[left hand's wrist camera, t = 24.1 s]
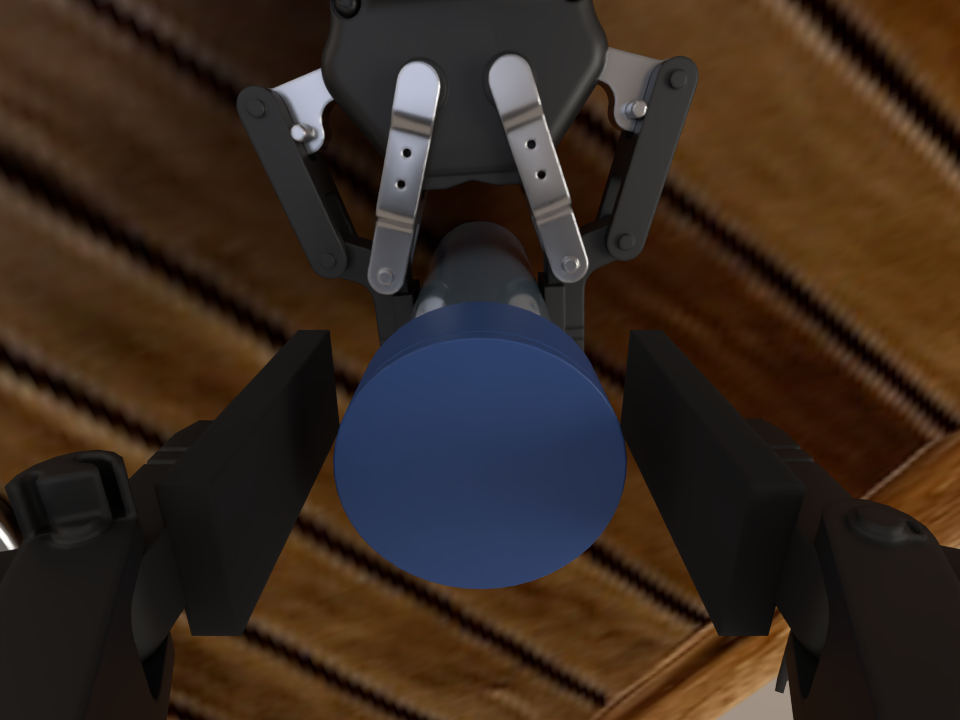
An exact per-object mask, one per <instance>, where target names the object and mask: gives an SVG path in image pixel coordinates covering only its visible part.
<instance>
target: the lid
mask: <svg viewBox="0 0 960 720" xmlns="http://www.w3.org/2000/svg"><path fill="white" fill-rule="evenodd" d="M333 462H334V478H335V483H336V488H337V492H338V495H339V498H340V501H341V503H342V506H343V509H344V511H345V512H346V514H347V516H348V518H349V520H350V522H351V523H352V525H353V526H354V528H355V529H356V530H357V532H358V533H359V535H360V536H361V537H362V538H363V539H364V540H365V541H366V542H367V543H368V544H369V546H370V547H371V548H372V549H374V550H375V551H376V552H377V553H378V554H380V555H381V556H382V557H383V558H384V559H386V560H388V561H389V562H391V563H392V564H394V565H395V566H397V567H398V568H400V569H402V570H404V571H406V572H408V573H410V574H412V575H414V576H417V577H420V578H422V579H425V580H428V581H431V582H434V583H438V584H442V585H446V586H453V587H459V588H472V589H489V588H501V587H507V586H514V585H518V584H522V583H526V582H529V581H533V580H535V579H538V578H541V577H543V576H546V575H548V574H550V573H552V572H554V571H556V570H558V569H560V568H562V567H564V566H565V565H567V564H568V563H570V562H571V561H573V560H574V559H576V558H577V557H578V556H579V555H581V554H582V553H583V552H584V551H585V550H586V549H588V548H589V547H590V546H591V545H592V544H593V543H594V541H595V540H596V539H597V538H598V537H599V536H600V535H601V534H602V532H603V531H604V529H605V528H606V526H607V525H608V523H609V522H610V521H611V519H612V517H613V515H614V513H615V511H616V509H617V507H618V504H619V501H620V498H621V495H622V492H623V489H624V483H625V478H626V465H627V456H626V448H625V440H624V437H623V433H622V430H621V426H620V423H619V421H618V419H617V417H616V415H615V413H614V410H613V408H612V406H611V404H610V402H609V400H608V398H607V396H606V394H605V392H604V390H603V388H602V386H601V384H600V381H599V379H598V377H597V375H596V373H595V371H594V369H593V367H592V365H591V363H590V361H589V360H588V358H587V357H586V355H585V354H584V352H583V351H582V349H581V348H580V347H579V346H578V345H577V343H576V342H575V341H574V340H573V339H572V338H571V337H570V336H569V335H568V334H567V333H565V332H564V331H563V330H562V329H561V328H560V327H558V326H557V325H555V324H553V323H552V322H550V321H549V320H547V319H546V318H544V317H542V316H540V315H538V314H535V313H533V312H531V311H529V310H526V309H522V308H519V307H516V306H513V305H507V304H502V303H497V302H465V303H458V304H453V305H448V306H444V307H441V308H438V309H435V310H432V311H429V312H427V313H425V314H423V315H421V316H419V317H416V318H414V319H413V320H411V321H410V322H408V323H407V324H405V325H404V326H402V327H401V328H399V329H398V330H397V331H396V332H395V333H394V334H393V335H391V336H390V337H389V338H388V339H387V340H386V341H385V342H384V344H383V345H382V346H381V347H380V348H379V349H378V351H377V352H376V354H375V355H374V357H373V358H372V360H371V362H370V363H369V365H368V367H367V369H366V371H365V373H364V375H363V377H362V379H361V382H360V384H359V386H358V388H357V390H356V392H355V394H354V396H353V398H352V400H351V402H350V404H349V406H348V408H347V410H346V413H345V415H344V417H343V419H342V422H341V424H340V426H339V430H338V434H337V438H336V441H335V449H334V458H333Z"/></svg>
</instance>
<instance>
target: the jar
mask: <svg viewBox="0 0 960 720" xmlns="http://www.w3.org/2000/svg"><path fill="white" fill-rule="evenodd" d="M465 302H497V303H502V304H507V305H513V306H516V307H519V308H522V309H526V310H529V311H531V312H533V313H535V314H538V315H540V316H542V317H544V318H546V319H547V320H549V321H550V322H552V320H551V317H550V314H549V312H548V309H547V307H546V304H545V302H544V299H543V296H542V294H541V291H540V289H539V286H538V283H537V281H536V278H535V276H534V273H533V271H532V268H531V265H530V263H529V260H528V258H527V255H526V252H525V250H524V248H523V246H522V244H521V243H520V241H519V240H518V239H517V238H516V237H515V235H514V234H512V233H511V232H510V231H509V230H507V229H506V228H504V227H502V226H500V225H498V224H495V223H491V222H486V221H475V222H469V223H465V224H463V225H460V226H458V227H456V228H454V229H453V230H451V231H450V232H449V233H448V234H447V235H446V236H445V237H444V238H443V239H442V240H441V241H440V243H439V245H438V246H437V248H436V250H435V253H434V255H433V258H432V260H431V263H430V266H429V268H428V271H427V273H426V276H425V279H424V281H423V284H422V286H421V289H420V291H419V294H418V297H417V299H416V302H415V304H414V307H413V310H412V312H411V315H410V317H409V320H408V322H410V321H411V320H413V319H414V318H416V317H419V316H421V315H423V314H425V313H427V312H429V311H432V310H435V309H438V308H441V307H444V306H448V305H453V304H458V303H465ZM552 323H553V322H552Z"/></svg>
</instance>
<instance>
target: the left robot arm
mask: <svg viewBox="0 0 960 720" xmlns="http://www.w3.org/2000/svg"><path fill="white" fill-rule="evenodd" d="M339 426H340V425H339V415H338V406H337V396H336V387H335V377H334V368H333V358H332V348H331V339H330V330H298V331H297V332H296V333H295V334H294V335H293V337H292V338H291V339H290V340H289V341H288V342H287V343H286V344H285V345H284V346H283V347H282V348H281V349H280V350H279V352H278V353H277V354H276V355H275V356H274V357H273V358H272V359H271V360H270V361H269V362H268V363H267V364H266V366H265V367H264V368H263V369H262V370H261V371H260V372H259V373H258V374H257V375H256V376H255V377H254V378H253V379H252V381H251V382H250V383H249V384H248V385H247V386H246V387H245V388H244V389H243V390H242V391H241V392H240V393H239V395H238V396H237V397H236V398H235V399H234V400H233V401H232V402H231V403H230V404H229V405H228V406H227V407H226V408H225V410H224V411H223V412H222V413H221V414H220V415H219V416H218V417H217V418H216V419H215V420H199V421H197V422H196V423H194V424H192V425H190V426H188V427H186V428H185V429H183V430H181V431H179V432H177V433H176V434H175V435H173V436H172V437H171V438H170V439H169V440H168V441H167V442H166V443H165V444H164V445H163V446H162V447H161V448H160V451H157V452H156V453H155V454H154V455H153V456H152V457H151V458H150V459H149V460H148V461H147V464H144V465H143V466H142V467H141V468H140V469H139V470H138V471H137V472H136V473H135V474H134V475H133V476H132V477H131V478H130V479H128V475H127V472H126V468H125V464H124V461H123V457H121V456H119V455H118V454H116V453H115V452H110V451H103V450H91V451H80V452H75V453H70V454H66V455H62V456H58V457H54V458H52V459H49V460H47V461H44V462H41V463H39V464H36V465H34V466H32V467H30V468H29V469H27V470H25V471H23V472H22V473H20V474H18V475H16V476H15V477H14V478H13V479H12V480H11V481H10V482H9V483H8V484H7V485H6V486H5V489H6V492H7V495H8V497H9V500H10V503H11V505H12V508H13V511H14V513H13V512H12V511H11V510H10V509H9V508H8V506H7V505H6V504H5V503H4V502H3V501H2V500H1V499H0V720H167V713H168V705H169V697H170V689H171V682H172V674H173V666H174V658H175V652H174V645H173V641H172V637H171V633H170V630H171V628H172V627H173V625H174V623H175V622H176V620H177V619H178V617H179V615H180V614H181V612H182V611H183V609H184V607H185V611H186V615H187V619H188V623H189V627H190V631H191V635H192V636H241V635H242V633H243V631H244V629H245V627H246V624H247V622H248V620H249V618H250V616H251V614H252V612H253V610H254V608H255V606H256V604H257V601H258V599H259V597H260V595H261V593H262V591H263V589H264V587H265V585H266V583H267V580H268V578H269V576H270V574H271V572H272V570H273V568H274V566H275V564H276V562H277V560H278V557H279V555H280V553H281V551H282V549H283V547H284V545H285V543H286V541H287V539H288V536H289V534H290V532H291V530H292V528H293V526H294V524H295V522H296V520H297V518H298V516H299V513H300V511H301V509H302V507H303V505H304V503H305V501H306V499H307V497H308V495H309V492H310V490H311V488H312V486H313V484H314V482H315V480H316V478H317V476H318V474H319V472H320V469H321V467H322V465H323V463H324V461H325V459H326V457H327V455H328V453H329V451H330V448H331V446H332V444H333V442H334V440H335V438H336V436H337V434H338V430H339ZM620 426H621V430H622V433H623V436H624V438H625V440H626V442H627V444H628V446H629V448H630V451H631V453H632V455H633V457H634V459H635V461H636V463H637V465H638V467H639V469H640V472H641V474H642V476H643V478H644V480H645V482H646V484H647V486H648V488H649V490H650V492H651V495H652V497H653V499H654V501H655V503H656V505H657V507H658V509H659V511H660V513H661V516H662V518H663V520H664V522H665V524H666V526H667V528H668V530H669V532H670V534H671V536H672V539H673V541H674V543H675V545H676V547H677V549H678V551H679V553H680V555H681V557H682V560H683V562H684V564H685V566H686V568H687V570H688V572H689V574H690V576H691V578H692V580H693V583H694V585H695V587H696V589H697V591H698V593H699V595H700V597H701V599H702V601H703V604H704V606H705V608H706V610H707V612H708V614H709V616H710V618H711V620H712V622H713V624H714V627H715V629H716V631H717V633H718V635H719V636H768V635H769V631H770V627H771V623H772V619H773V615H774V611H775V607H776V606H777V608H778V609H779V611H780V612H781V614H782V616H783V617H784V619H785V620H786V622H787V623H788V625H789V627H790V628H791V630H790V633H789V637H788V641H787V644H786V648H785V652H784V655H783V659H782V663H781V666H780V670H779V674H778V677H777V682H776V688H775V691H777V692H781V693H784V689H785V686H786V682H787V681H788V680H789V688H790V695H791V703H792V711H793V719H794V720H960V549H956V548H951V547H946V546H941V545H939V543H938V541H937V539H936V538H935V537H934V535H933V534H932V533H931V532H930V531H929V530H928V528H927V527H926V526H924V525H923V524H921V523H920V522H919V521H917V520H916V519H914V518H913V517H911V516H910V515H908V514H906V513H904V512H901V511H899V510H897V509H895V508H892V507H890V506H888V505H884V504H880V503H877V502H873V501H870V500H864V499H854V498H853V497H852V496H851V495H850V494H849V493H848V492H847V491H846V490H845V489H844V488H842V487H841V486H840V485H839V484H838V483H837V482H836V481H835V480H834V479H833V478H832V477H831V476H830V475H829V474H828V473H827V472H826V471H825V470H824V469H823V468H822V467H821V466H820V465H819V464H818V463H817V462H813V458H812V457H811V456H810V455H809V454H807V453H806V452H805V451H804V450H803V449H800V446H799V445H798V444H797V443H796V442H795V441H794V440H793V439H792V438H791V437H790V436H789V435H788V434H787V433H786V432H785V431H783V430H781V429H779V428H778V427H776V426H774V425H772V424H770V423H768V422H766V421H765V420H763V419H744V418H743V417H742V416H741V415H740V414H739V413H738V412H737V411H736V410H735V408H734V407H733V406H732V405H731V404H730V403H729V402H728V401H727V400H726V399H725V398H724V397H723V396H722V395H721V393H720V392H719V391H718V390H717V389H716V388H715V387H714V386H713V385H712V384H711V383H710V382H709V381H708V379H707V378H706V377H705V376H704V375H703V374H702V373H701V372H700V371H699V370H698V369H697V368H696V367H695V366H694V364H693V363H692V362H691V361H690V360H689V359H688V358H687V357H686V356H685V355H684V354H683V353H682V352H681V350H680V349H679V348H678V347H677V346H676V345H675V344H674V343H673V342H672V341H671V340H670V339H669V338H668V337H667V335H666V334H665V333H664V332H663V331H662V330H630V339H629V348H628V358H627V368H626V377H625V387H624V396H623V406H622V415H621V425H620Z"/></svg>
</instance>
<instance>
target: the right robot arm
mask: <svg viewBox="0 0 960 720" xmlns="http://www.w3.org/2000/svg"><path fill="white" fill-rule="evenodd" d="M329 5H330V27H329V33H328V38H327V41H326V44H325V47H324V49H323V52H322V57H321V68H320V69H318V70H315V71H313V72H311V73H308V74H306V75H304V76H301V77H299V78H296V79H294V80H292V81H289V82H287V83H285V84H282V85H280V86H278V87H275V88H272V89H269V88H264V87H260V86H249V87H247V88H245V89H243V90H242V91H241V93H240V94H239V96H238V99H237V112H238V115H239V117H240V119H241V121H242V123H243V125H244V127H245V129H246V131H247V134H248V136H249V138H250V140H251V142H252V144H253V146H254V148H255V150H256V152H257V154H258V156H259V159H260V161H261V163H262V165H263V167H264V169H265V171H266V173H267V175H268V177H269V179H270V181H271V184H272V186H273V188H274V190H275V192H276V194H277V196H278V198H279V200H280V202H281V204H282V206H283V209H284V211H285V213H286V215H287V217H288V219H289V221H290V223H291V225H292V227H293V229H294V232H295V234H296V236H297V238H298V240H299V242H300V244H301V246H302V248H303V250H304V252H305V254H306V257H307V259H308V261H309V263H310V265H311V267H312V269H313V270H314V271H315V272H316V273H317V274H318V275H319V276H321V277H323V278H328V279H333V278H337V277H340V278H343V279H347V280H350V281H354V282H357V283H360V284H362V285H363V286H365V287H366V288H367V289H368V290H369V291H370V293H371V294H372V296H373V299H374V304H375V311H376V319H377V326H378V333H379V338H380V347H381V346H382V345H383V344H384V342H385V341H386V340H387V339H388V338H389V337H390V336H391V335H393V334H394V333H395V332H396V331H397V330H398V329H399V328H401V327H402V326H404V325H405V324H407V323H408V320H409V317H410V315H411V312H412V310H413V307H414V304H415V302H416V299H417V297H418V294H419V291H420V283H419V279H418V280H413V277H412V264H413V259H414V254H415V249H416V244H417V240H418V235H419V230H420V225H421V220H422V217H423V213H424V209H425V205H426V200H427V195H428V190H435V189H447V188H450V187H453V186H456V185H459V184H462V183H464V182H467V181H470V180H475V181H479V182H484V183H489V184H494V185H509V184H519V186H520V189H521V192H522V195H523V197H524V200H525V203H526V206H527V208H528V211H529V213H530V216H531V219H532V222H533V225H534V228H535V231H536V233H537V236H538V239H539V242H540V245H541V248H542V251H543V254H544V272H538V286H539V289H540V291H541V294H542V296H543V299H544V302H545V304H546V307H547V309H548V312H549V314H550V317H551V320H552V322H553V324H555V325H557V326H558V327H560V328H561V329H562V330H563V331H564V332H565V333H567V334H568V335H569V336H570V337H571V338H572V339H573V340H574V341H575V342H576V343H577V345H578V346H579V347H580V348H581V349H582V351H583V352H584V286H585V282H586V280H587V278H588V276H589V275H590V274H591V273H592V272H593V271H594V270H595V269H597V268H599V267H601V266H603V265H606V264H608V263H611V262H613V261H615V260H621V261H627V260H631V259H633V258H635V257H636V256H638V255H639V254H640V253H641V251H642V249H643V247H644V244H645V241H646V238H647V235H648V232H649V229H650V226H651V223H652V220H653V217H654V214H655V211H656V208H657V205H658V202H659V199H660V196H661V193H662V190H663V187H664V184H665V181H666V178H667V175H668V172H669V169H670V166H671V163H672V160H673V157H674V153H675V150H676V147H677V144H678V141H679V138H680V135H681V132H682V129H683V126H684V123H685V120H686V117H687V114H688V111H689V108H690V105H691V102H692V99H693V96H694V93H695V90H696V87H697V83H698V78H699V76H698V69H697V67H696V65H695V63H694V62H693V61H692V60H691V59H689V58H687V57H684V56H676V57H673V58H668V59H665V60H657V59H653V58H649V57H645V56H641V55H637V54H634V53H630V52H626V51H622V50H618V49H614V48H610V47H608V42H607V37H606V34H605V32H604V30H603V28H602V26H601V24H600V22H599V20H598V18H597V15H596V12H595V9H594V6H593V1H592V0H329ZM597 84H598V85H600V86H601V87H602V88H603V89H604V90H605V91H606V93H607V96H608V100H609V106H608V119H609V121H610V123H611V125H612V126H613V127H614V128H615V129H617V130H620V131H622V132H621V135H620V138H619V142H618V145H617V149H616V152H615V155H614V159H613V162H612V166H611V169H610V173H609V176H608V179H607V183H606V186H605V190H604V193H603V196H602V200H601V203H600V207H599V210H598V214H597V217H596V220H595V221H593V222H591V223H589V224H586V225H584V226H582V227H579V228H578V225H577V222H576V219H575V216H574V213H573V209H572V202H571V198H570V195H569V191H568V188H567V185H566V182H565V179H564V176H563V172H562V169H561V166H560V163H559V160H558V157H557V154H556V150H555V149H556V148H557V146H558V145H559V143H560V141H561V140H562V138H563V137H564V135H565V134H566V132H567V130H568V129H569V127H570V126H571V124H572V123H573V121H574V119H575V118H576V116H577V115H578V113H579V112H580V110H581V108H582V107H583V105H584V104H585V102H586V101H587V99H588V97H589V96H590V94H591V93H592V91H593V90H594V88H595V87H596V85H597ZM335 104H338V105H339V106H340V107H341V109H342V110H343V111H344V112H345V113H346V115H347V116H348V117H349V118H350V119H351V121H352V122H353V123H354V124H355V125H356V126H357V128H358V129H359V130H360V131H361V132H362V134H363V135H364V136H365V137H366V138H367V140H368V141H369V142H370V143H371V144H372V145H373V147H374V148H375V149H376V150H377V151H378V153H379V154H380V155H381V156H382V157H383V159H384V160H385V161H384V167H383V173H382V179H381V185H380V190H379V196H378V202H377V208H376V227H375V233H374V239H373V241H372V240H368V239H365V238H362V237H358V235H357V233H356V231H355V228H354V226H353V224H352V222H351V219H350V217H349V215H348V213H347V210H346V208H345V206H344V203H343V201H342V199H341V197H340V194H339V192H338V190H337V188H336V185H335V183H334V181H333V178H332V176H331V174H330V172H329V169H328V167H327V165H326V163H325V160H324V158H323V156H322V153H321V152H322V151H324V150H325V149H326V148H327V147H328V145H329V144H330V141H331V129H330V125H329V114H330V111H331V109H332V107H333V106H334V105H335Z"/></svg>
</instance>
